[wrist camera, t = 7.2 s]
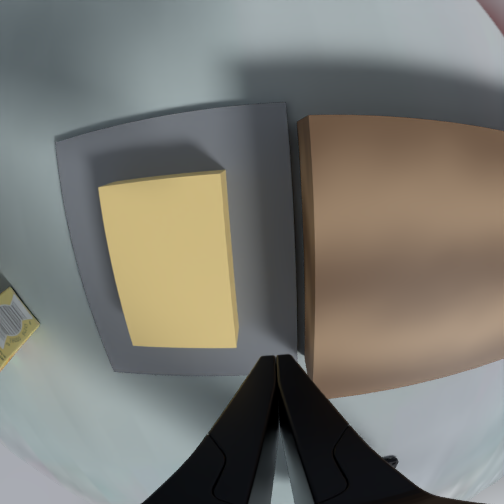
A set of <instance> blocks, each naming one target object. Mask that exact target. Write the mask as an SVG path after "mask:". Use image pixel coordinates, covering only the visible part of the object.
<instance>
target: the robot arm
mask: <svg viewBox="0 0 504 504" xmlns="http://www.w3.org/2000/svg"><path fill="white" fill-rule="evenodd" d="M278 407H279V408H278ZM279 423H280V431H281V437H282V442H283V447H284V452H285V457H286V462H287V467H288V472H289V478H290V483H291V488H292V493H293V498H294V503H295V504H485V503H476V502H469V501H462V500H456V499H450V498H445V497H440V496H436V495H433V494H430V493H428V492H426V491H424V490H422V489H421V488H419V487H418V486H416V485H415V484H414V483H412V482H411V481H410V480H409V479H407V478H406V477H405V476H404V475H402V474H401V473H400V472H399V471H397V470H396V469H395V468H396V466H397V464H398V459H397V458H394V459H389V460H384V459H383V458H382V457H381V456H380V455H378V454H377V453H376V452H375V451H374V450H373V449H372V448H371V447H370V446H369V445H368V444H367V443H366V442H365V441H364V440H363V439H362V438H361V437H360V436H359V435H358V434H357V433H356V431H355V430H354V429H353V428H352V427H351V426H349V423H348V422H347V421H346V420H345V419H344V418H343V416H342V415H341V414H340V413H339V412H338V411H337V409H336V408H335V407H334V406H333V405H332V403H331V402H330V401H329V400H328V399H327V398H326V396H325V395H324V394H323V393H322V392H321V390H320V389H319V388H318V387H317V386H316V384H315V383H314V382H313V381H312V380H311V378H310V377H309V376H308V375H307V374H306V372H305V371H304V370H303V369H302V368H301V366H300V365H299V364H298V363H297V361H296V360H295V359H294V358H293V357H292V355H290V354H281V355H277V356H276V357H275V356H274V355H266V356H261V357H260V358H259V359H258V361H257V363H256V364H255V366H254V367H253V369H252V370H251V372H250V373H249V375H248V376H247V378H246V379H245V381H244V382H243V384H242V385H241V387H240V388H239V390H238V391H237V392H236V394H235V395H234V397H233V398H232V400H231V401H230V403H229V404H228V406H227V407H226V408H225V410H224V411H223V413H222V414H221V416H220V417H219V418H218V420H217V421H216V423H215V424H214V425H213V427H212V428H211V430H210V431H209V432H208V434H209V435H206V436H205V438H204V439H203V441H202V442H201V443H200V445H199V446H198V447H197V448H196V450H195V451H194V452H193V453H192V455H191V456H190V457H189V458H188V459H187V460H186V461H185V462H184V464H183V465H182V466H181V467H180V468H179V469H178V470H177V471H176V472H175V473H174V474H173V475H172V476H171V477H170V478H169V479H168V480H167V481H165V482H164V483H163V484H162V485H161V486H160V487H159V488H158V489H157V490H156V491H155V492H154V493H153V494H152V495H151V496H149V497H148V498H147V499H146V500H145V501H144V502H143V503H141V504H271V496H272V488H273V480H274V472H275V463H276V454H277V445H278V435H279Z"/></svg>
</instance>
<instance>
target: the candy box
mask: <svg viewBox="0 0 504 504" xmlns="http://www.w3.org/2000/svg"><path fill="white" fill-rule="evenodd" d="M39 326H40V323H39V322H38V321H37V320H36V319H35V317H34V316H33V315H32V314H31V312H30V311H29V310H28V309H27V308H26V306H25V305H24V304H23V303H22V301H21V300H20V299H19V297H18V296H17V295H16V293H15V292H14V291H13V289H12V288H11V287H9V288H7V289H6V290H5V291H3V292H2V293H1V294H0V371H1V370H2V369H3V368H4V367H5V365H6V364H7V363H8V362H9V361H10V360H11V358H12V357H13V356H14V355H15V354H16V352H17V351H18V350H19V349H20V348H21V346H22V345H23V344H24V343H25V342H26V341H27V339H28V338H29V337H30V336H31V335H32V334H33V332H34V331H35V330H36V329H37V328H38V327H39Z"/></svg>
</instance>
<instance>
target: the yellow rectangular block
mask: <svg viewBox="0 0 504 504" xmlns="http://www.w3.org/2000/svg"><path fill="white" fill-rule="evenodd" d="M98 190H99V197H100V204H101V210H102V216H103V222H104V228H105V234H106V239H107V244H108V249H109V254H110V259H111V264H112V268H113V273H114V277H115V281H116V285H117V290H118V294H119V298H120V302H121V305H122V309H123V313H124V316H125V320H126V324H127V327H128V331H129V334H130V337H131V341H132V344H133V346H147V347H172V348H237V340H238V331H239V323H238V312H237V302H236V291H235V279H234V268H233V256H232V244H231V232H230V220H229V207H228V194H227V181H226V170H214V171H202V172H191V173H181V174H171V175H162V176H153V177H145V178H137V179H130V180H122V181H115V182H112V183H109V184H106V185H103V186H101V187H98Z"/></svg>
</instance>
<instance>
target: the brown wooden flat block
mask: <svg viewBox="0 0 504 504" xmlns="http://www.w3.org/2000/svg"><path fill="white" fill-rule="evenodd" d="M297 131H298V145H299V160H300V176H301V195H302V217H303V244H304V291H305V353H304V357H305V363H306V368H307V374H308V376H309V377H310V378H311V380H312V381H313V382H314V383H315V384H316V386H317V387H318V388H319V389H320V390H321V392H322V393H323V394H324V395H325V396H326V398H327V399H331V398H339V397H346V396H353V395H360V394H366V393H372V392H378V391H384V390H389V389H394V388H399V387H404V386H409V385H413V384H418V383H422V382H426V381H430V380H434V379H438V378H442V377H446V376H450V375H453V374H457V373H460V372H464V371H467V370H470V369H474V368H477V367H480V366H483V365H486V364H489V363H492V362H495V361H498V360H501V359H504V131H501V130H496V129H490V128H485V127H479V126H473V125H466V124H460V123H453V122H445V121H436V120H427V119H417V118H405V117H390V116H370V115H308V116H306V117H304V118H303V119H301V120H299V121H297Z"/></svg>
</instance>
